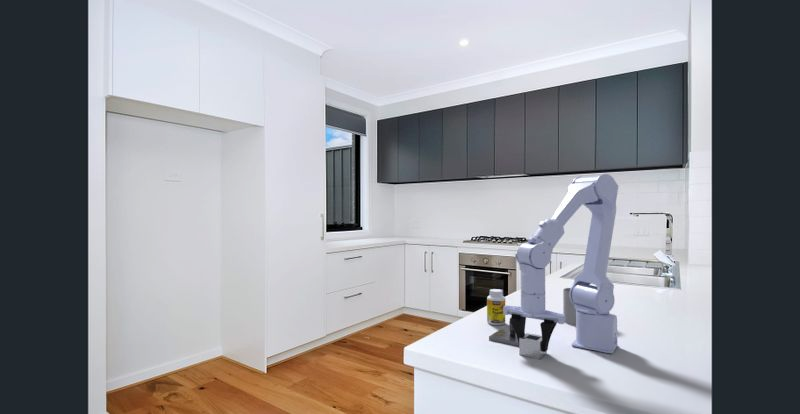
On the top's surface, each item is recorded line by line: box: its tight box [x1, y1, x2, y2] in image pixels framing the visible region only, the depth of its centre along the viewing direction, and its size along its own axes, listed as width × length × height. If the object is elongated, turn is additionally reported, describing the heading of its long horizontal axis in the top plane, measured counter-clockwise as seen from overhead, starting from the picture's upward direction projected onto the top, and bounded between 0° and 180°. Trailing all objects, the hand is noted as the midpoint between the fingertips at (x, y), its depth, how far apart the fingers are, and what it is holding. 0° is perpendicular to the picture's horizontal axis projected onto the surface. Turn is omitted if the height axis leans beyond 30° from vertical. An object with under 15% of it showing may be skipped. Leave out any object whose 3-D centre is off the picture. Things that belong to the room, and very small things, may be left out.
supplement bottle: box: [486, 288, 506, 326], centre depth 123 cm, size 6×6×10 cm
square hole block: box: [518, 332, 548, 360], centre depth 97 cm, size 5×5×4 cm
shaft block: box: [488, 320, 519, 347], centre depth 107 cm, size 10×8×5 cm
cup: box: [562, 287, 576, 327], centre depth 123 cm, size 8×8×10 cm
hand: (533, 348), depth 97 cm, fingers closed on square hole block, 5 cm apart
